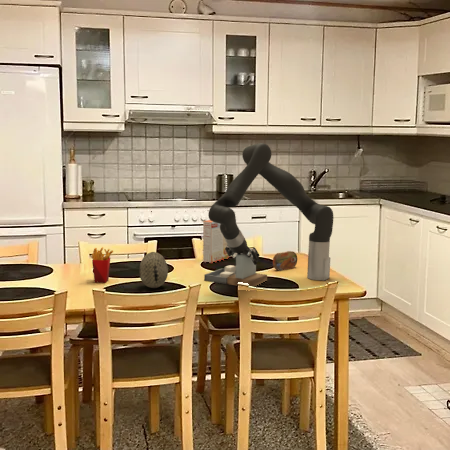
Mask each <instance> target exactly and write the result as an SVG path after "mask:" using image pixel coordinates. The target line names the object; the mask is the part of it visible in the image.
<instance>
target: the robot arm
mask: <svg viewBox="0 0 450 450" xmlns="http://www.w3.org/2000/svg"><path fill="white" fill-rule="evenodd" d="M241 155H242V160H243V161H244V163H245V165H246V166H244V167H245V168H244V169H243V170H242V171H241V172H240V173H239V174H237V176H236V177H235V178H234V179H233V180H231V182H230V184H229V185H228V187H227V188H226V190H225V192H224V194H223V195H221V196H220V197H219V198H218V199H217V200H216V201H215V202H214V203H213V204H212V205H211V207H210V208H209V211H208V220H211V221H212V222H215V223H219V224H220V230H221V233H222V234H223V236H224V238H225V241H226V243H227V246H226V248H225V250H226V252H227V254H228V256H229V257H232V258H233V259H234V261H236V255H237V254H240V255H244V256H245V257H247V258H250V259H251V260H252V261H253V263H254V265H256V266H257V264H258V262H259V258H260V253H259V252H258V250H257V248H256V247H254V246H253V247H252V248H250V247H249V246H248V242H247V240H246V238H245V236H244V234H243V232H242V231H241V230H240V227H239V226H238V224H237V219H236V213H235V211H234V210H233V209H232V208H233V207H237V206H238V205H239V203H240V202H241V200H242V199H243V197H244V195H245V194H246V192H247V191H248V189H249V187H250V186H251V185H252V183H253V182H254V180H255V179H256V178H257V177H258V175H260V176H261V177H262V178H263V179H265V180H266V182H268V183H269V184H270V185H271V186H272V187H273V188H274V189H275V190H276V191H277V192H278V193H280V194H281V196H283V197H284V198H285V200H286V199H287V201H289V203H291V204H293V205H294V206H295V207H296V208H297V209H298V210H299V211H300V212H301V214H302V215H303V216H304V217H305V218H306V219H307V221H309V222H310V223H311V225H314V231H313V232H310V233H309V235H308V251H307V254H308V255H307V275H306V276H307V279H308V280H313V281H326V280H328V279H330V274H331V273H330V272H331V257H330V241H331V240H330V239H331V237H332V234H333V227H334V211H333V209H332V208H331V207H330V206H328V205H323V204H319V203H318V202H316V201H315V200H313V199H312V198H311V197H310V196H309V195H308V193H306V189H305V188H304V185H303V184H302V183H301V182H300V181H299V180H298V179H297V178H296V177H295V176H294V175H293V174H291V173H290V172H289V171H287V170H285V169H283V168H280V167H278V166H275V165H274V164H273V163H271V162H270V160H271V159H272V149H271V147H270V146H269V145H268V144H266V143H264V142H263V143H262V142H261V143H255V144H252V145H248V146H246V147H245V148H244V149H243V150H242V154H241ZM248 253H249V255H247V254H248ZM251 255H253V257H251Z"/></svg>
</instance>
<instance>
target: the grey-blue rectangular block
mask: <svg viewBox="0 0 450 450" xmlns="http://www.w3.org/2000/svg"><path fill="white" fill-rule="evenodd" d="M247 255H249V253H248V254H247ZM251 257H253V255H251ZM235 266H236V269H235V270H236V278H240V279H244V278H246V277H248V276H251V275H253V274H256V273H257V264H256V265H254V263H253V261H252V260H251V259H250V258H247V257H245V256H244V255H240V254H237V255H236V260H235Z"/></svg>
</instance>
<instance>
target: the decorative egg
mask: <svg viewBox="0 0 450 450" xmlns="http://www.w3.org/2000/svg"><path fill="white" fill-rule="evenodd" d="M138 273H139V278H140V281H141V283H142V284H143V285H144V286H146V287H148V288H150V289H157V288H159V287H161V286H163V285H164V284H165V282H166V281H167V278H168V276H169V270H168V264H167V260H166V259H165V257H164V256H163V255H162V254H160V253H159V252H156V251H151V252H148V253H147V254H145V255H144V256H143V258H142V259H141V262H140V264H139V267H138Z"/></svg>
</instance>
